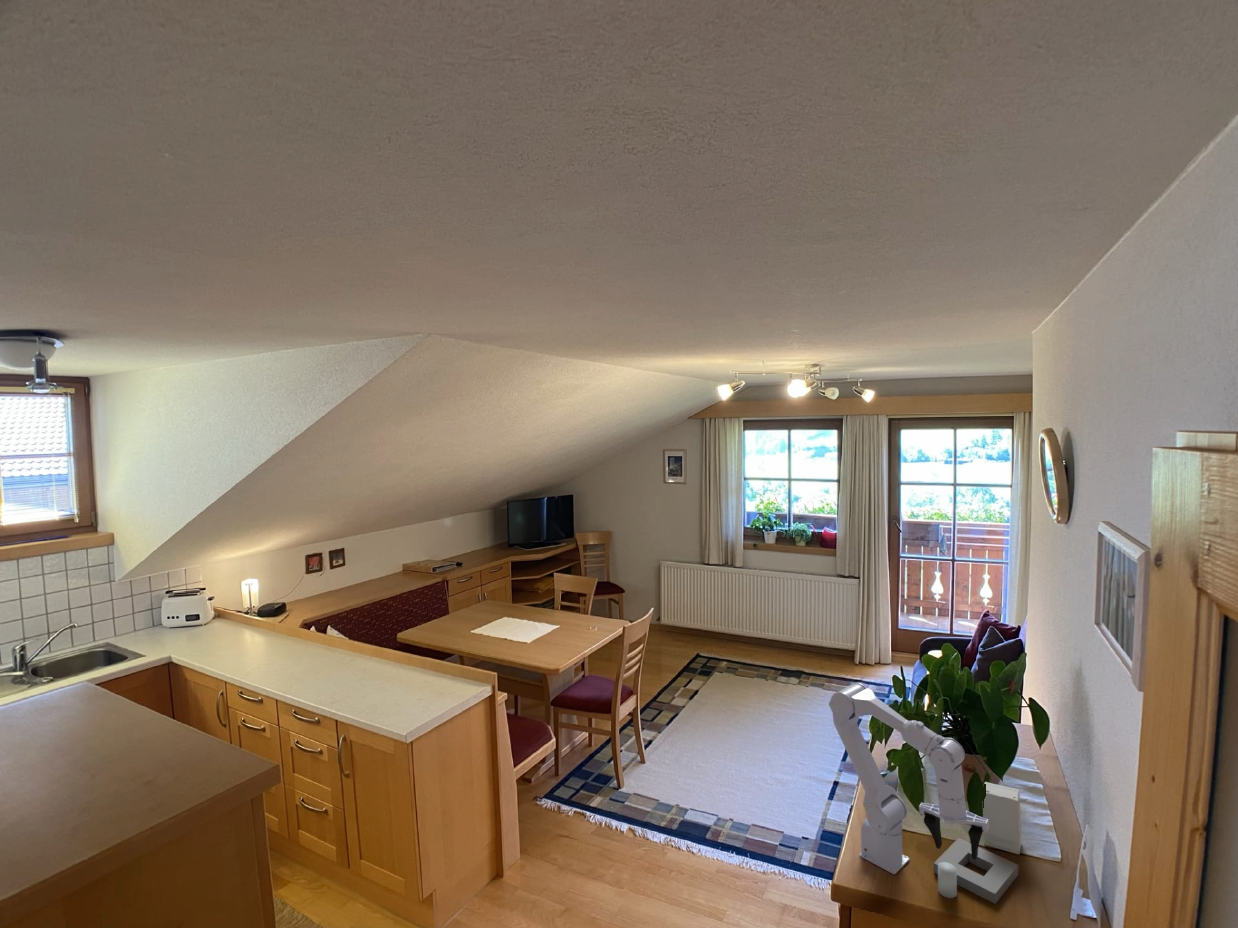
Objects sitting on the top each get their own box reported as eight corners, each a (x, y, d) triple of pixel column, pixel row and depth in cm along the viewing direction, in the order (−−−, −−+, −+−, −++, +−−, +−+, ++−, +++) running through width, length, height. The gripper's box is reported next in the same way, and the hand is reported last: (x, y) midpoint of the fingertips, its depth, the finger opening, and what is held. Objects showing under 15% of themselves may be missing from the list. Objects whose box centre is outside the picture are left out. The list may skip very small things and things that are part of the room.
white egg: (935, 891, 155) (934, 867, 154) (942, 882, 157) (942, 859, 157) (952, 900, 152) (952, 876, 151) (959, 891, 154) (959, 868, 154)
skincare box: (1021, 843, 170) (1021, 788, 169) (1019, 856, 165) (1019, 800, 164) (984, 832, 175) (984, 779, 174) (981, 844, 170) (981, 790, 169)
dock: (933, 872, 161) (933, 862, 161) (958, 846, 170) (958, 837, 169) (995, 903, 150) (995, 893, 150) (1018, 874, 159) (1018, 864, 159)
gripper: (913, 793, 153) (918, 850, 153) (981, 810, 144) (987, 871, 144) (921, 780, 159) (927, 835, 159) (988, 795, 149) (994, 854, 149)
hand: (956, 851), depth 152 cm, fingers open, 7 cm apart
